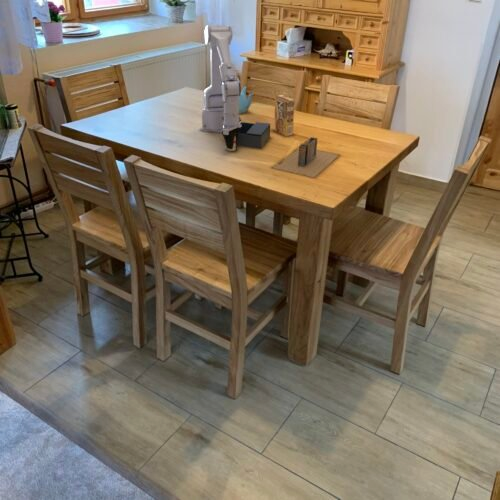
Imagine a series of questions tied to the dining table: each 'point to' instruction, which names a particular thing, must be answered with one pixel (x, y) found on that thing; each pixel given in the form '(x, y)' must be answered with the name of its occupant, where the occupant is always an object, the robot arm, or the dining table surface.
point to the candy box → (284, 115)
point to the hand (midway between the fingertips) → (231, 146)
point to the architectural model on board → (307, 159)
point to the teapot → (244, 101)
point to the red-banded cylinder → (233, 145)
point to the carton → (253, 134)
